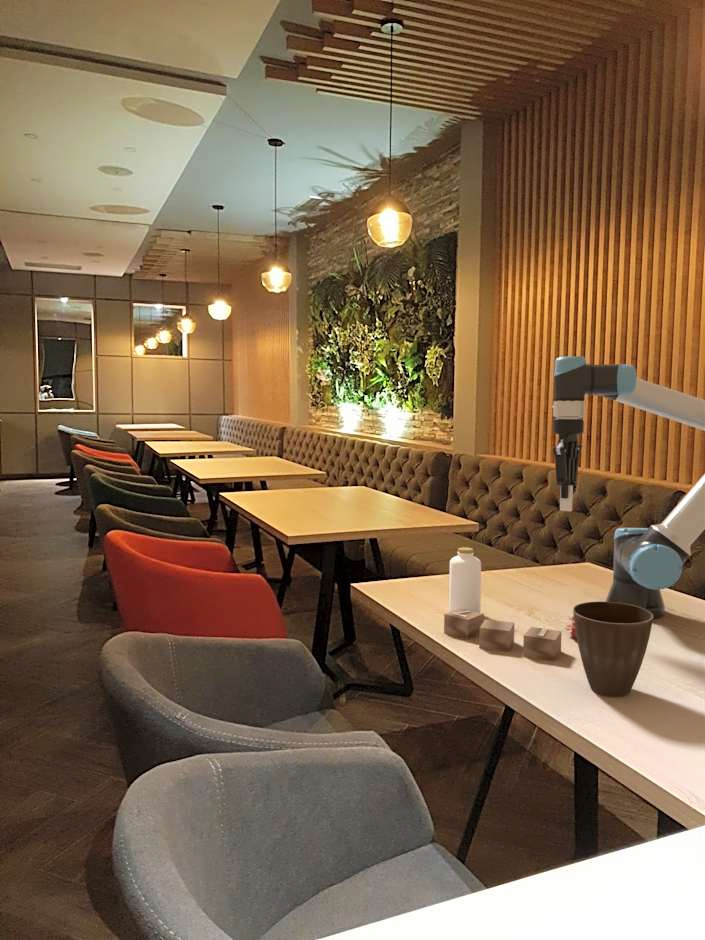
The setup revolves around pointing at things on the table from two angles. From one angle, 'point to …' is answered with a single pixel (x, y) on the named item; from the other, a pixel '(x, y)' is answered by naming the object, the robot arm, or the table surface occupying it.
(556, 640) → the marked block one
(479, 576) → the potion bottle
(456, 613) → the marked block seven
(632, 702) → the table surface
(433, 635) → the table surface
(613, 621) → the plant pot
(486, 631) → the plain block
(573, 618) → the flower
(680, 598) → the table surface
